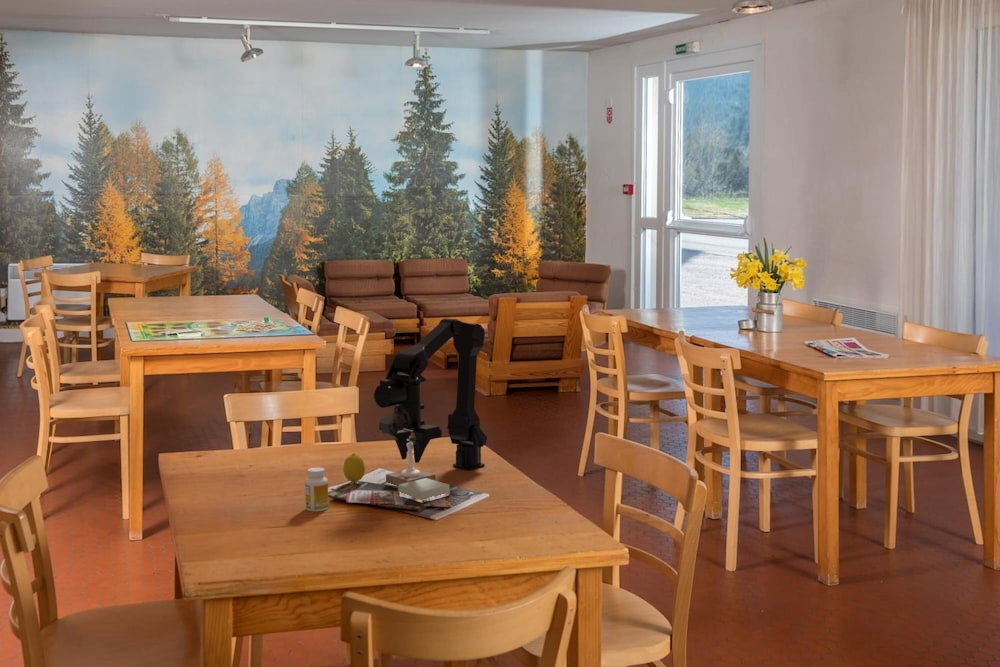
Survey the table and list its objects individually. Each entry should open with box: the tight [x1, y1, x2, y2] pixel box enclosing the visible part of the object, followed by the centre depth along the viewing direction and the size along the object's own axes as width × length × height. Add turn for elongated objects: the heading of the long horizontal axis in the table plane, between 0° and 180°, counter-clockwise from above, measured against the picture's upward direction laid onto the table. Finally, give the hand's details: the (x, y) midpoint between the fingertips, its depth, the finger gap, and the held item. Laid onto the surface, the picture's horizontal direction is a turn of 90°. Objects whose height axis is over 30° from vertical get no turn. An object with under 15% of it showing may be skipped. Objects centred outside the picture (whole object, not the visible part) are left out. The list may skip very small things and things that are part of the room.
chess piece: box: [401, 435, 420, 477], centre depth 284 cm, size 5×5×10 cm
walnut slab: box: [385, 468, 436, 486], centre depth 285 cm, size 9×9×3 cm
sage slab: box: [397, 478, 451, 500], centre depth 275 cm, size 9×9×3 cm
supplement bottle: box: [304, 467, 329, 513], centre depth 264 cm, size 5×5×10 cm
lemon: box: [342, 453, 366, 483], centre depth 287 cm, size 6×6×8 cm
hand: (410, 461), depth 284 cm, fingers open, 5 cm apart
